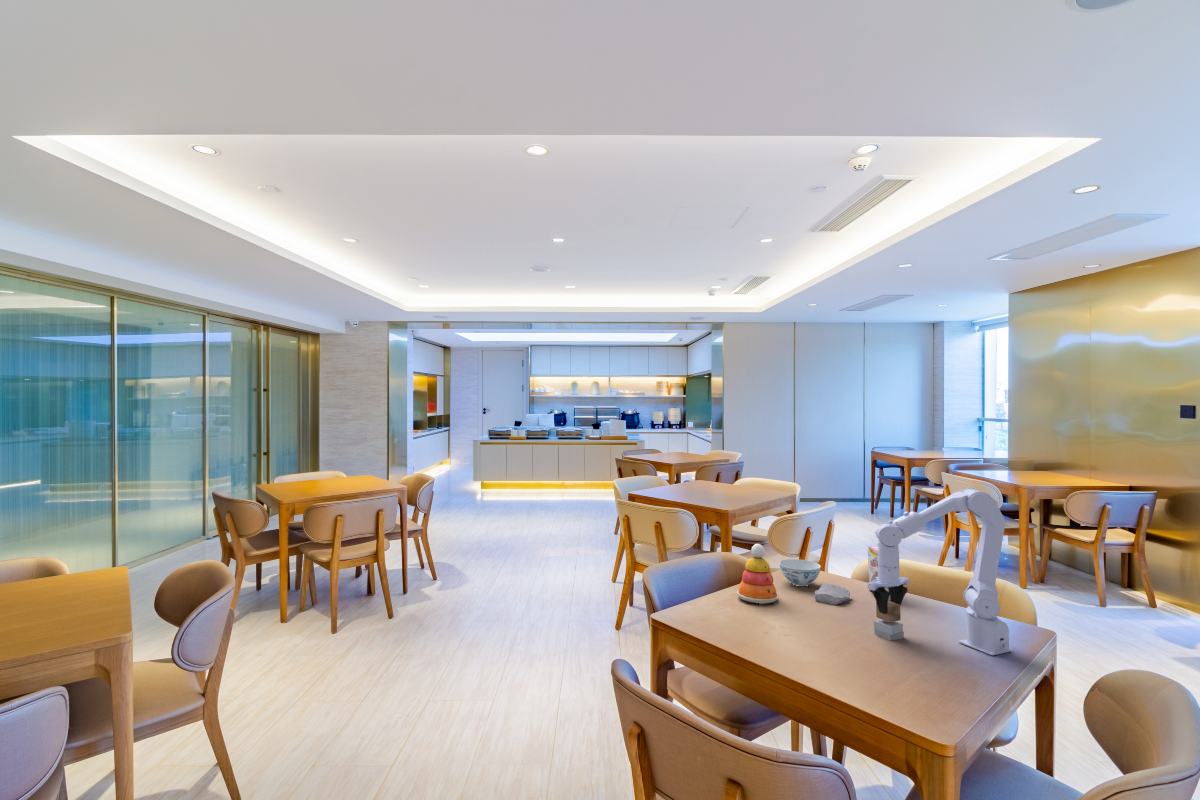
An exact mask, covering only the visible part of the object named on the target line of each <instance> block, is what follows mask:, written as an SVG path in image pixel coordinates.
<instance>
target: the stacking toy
mask: <svg viewBox="0 0 1200 800" xmlns="http://www.w3.org/2000/svg"><path fill="white" fill-rule="evenodd" d="M750 551H751V552H750V553H751V555H752V557H751V558H749V559H748V560H747V561H746V563H745V570H744V571H743V573H742V575H741V576H742V577H741V582H740V584H739V586H738V589H737V591H736V594H737V596H738V597H739V599H742V600H743V601H745V602H749V603H755V604H758V603H759V605H764V604H770V603H771V604H772V603H774V602H775V601H777V600H778V599H779V593H778V592H777V588H776V586H775V584H774V578H773V575H772V573H771V566H770V564H769V562H768V561H767V560H766V559H765V558H764V556H765V555H766V551H765V548H764V546H763V545H762V544H760V543H755V544H753V546H751V550H750Z"/></svg>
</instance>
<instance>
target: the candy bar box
mask: <svg viewBox="0 0 1200 800" xmlns="http://www.w3.org/2000/svg"><path fill="white" fill-rule="evenodd" d="M867 553H868V554H867V555H868V557H867V559H868V582H871V581H873V580H876V577H878V546H868V547H867ZM885 589H886V591H888V592H889V590H888V588H885ZM868 591H869V592H871V590H870V589H868ZM888 601H891V600H890V596H889V599H888Z"/></svg>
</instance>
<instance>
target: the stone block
mask: <svg viewBox="0 0 1200 800" xmlns="http://www.w3.org/2000/svg"><path fill="white" fill-rule="evenodd" d="M850 595H851V592H850V590H848V589H846V588H845V587H842V586H839V585H836V584H834V583H824V584H822V585H821V586H820V587H819V589H818V590H817V589H816V590H815V591H814V600H815V601H816V602H818V601H820V602H819V603H823V602H825V603H824V604H829V605H833V606H837V605H839V604H840V605H841V604H842V603H847V602H849V600H850Z"/></svg>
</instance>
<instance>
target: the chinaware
mask: <svg viewBox="0 0 1200 800" xmlns="http://www.w3.org/2000/svg"><path fill="white" fill-rule="evenodd" d="M778 564H779V567H780V570H781V573H782V574H783V577H784V578H786V580H787V581H790V584H791V583H792V584H794V585H799V586H807V585H809V586H810V584H812V583H813V582H815V580H816V579H818V576H819V574H820V571H821V567H822V566H821V565H820V564H819V563H817V562H815V561H811V560H807V559H798V558H796V559H794V558H791V559H790V558H789V559H783V560H781V561H779V563H778ZM792 584H791V585H792ZM794 585H793V586H794Z"/></svg>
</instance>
